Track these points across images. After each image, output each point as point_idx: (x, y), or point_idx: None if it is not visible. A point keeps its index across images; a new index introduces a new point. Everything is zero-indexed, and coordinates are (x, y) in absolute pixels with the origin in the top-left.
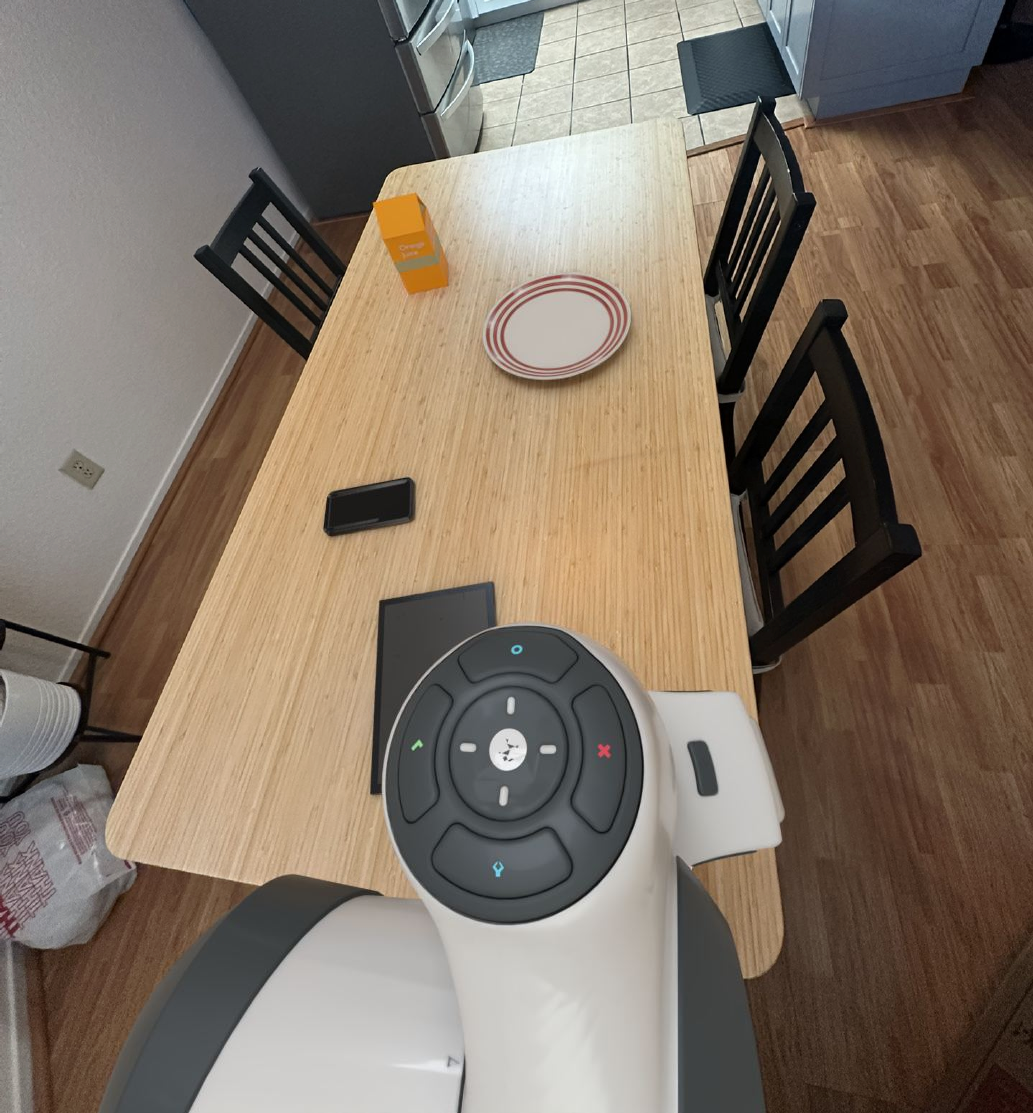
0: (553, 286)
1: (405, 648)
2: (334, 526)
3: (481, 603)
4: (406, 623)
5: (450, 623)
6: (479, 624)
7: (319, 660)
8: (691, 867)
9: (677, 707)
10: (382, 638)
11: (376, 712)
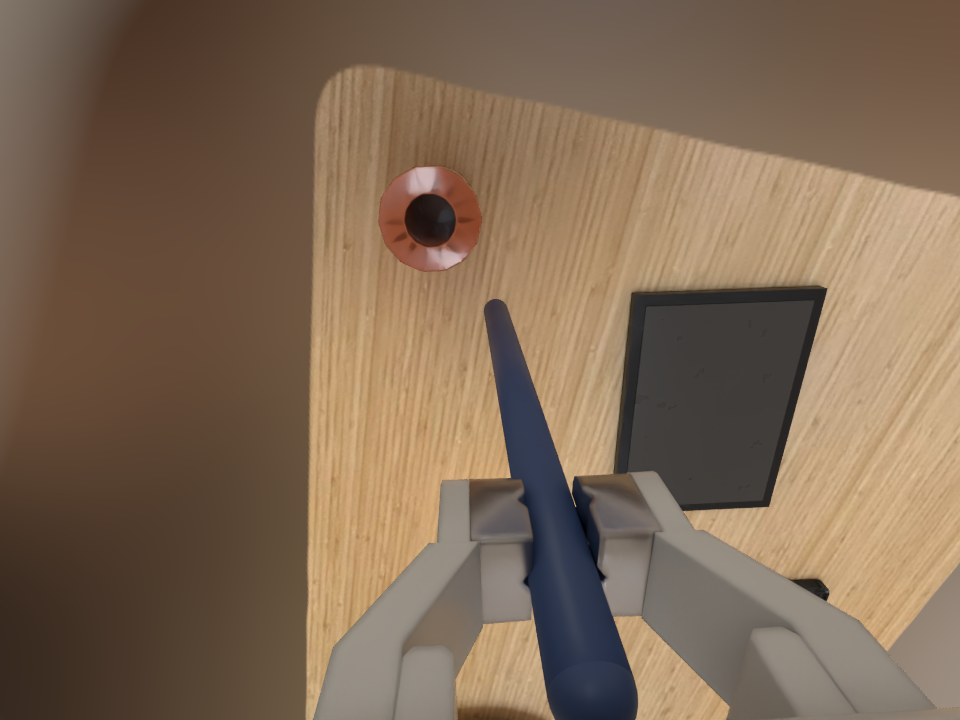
0: None
1: (744, 450)
2: (813, 593)
3: None
4: (737, 478)
5: (677, 473)
6: (639, 468)
7: (861, 443)
8: (388, 189)
9: None
10: (773, 464)
11: (798, 381)
